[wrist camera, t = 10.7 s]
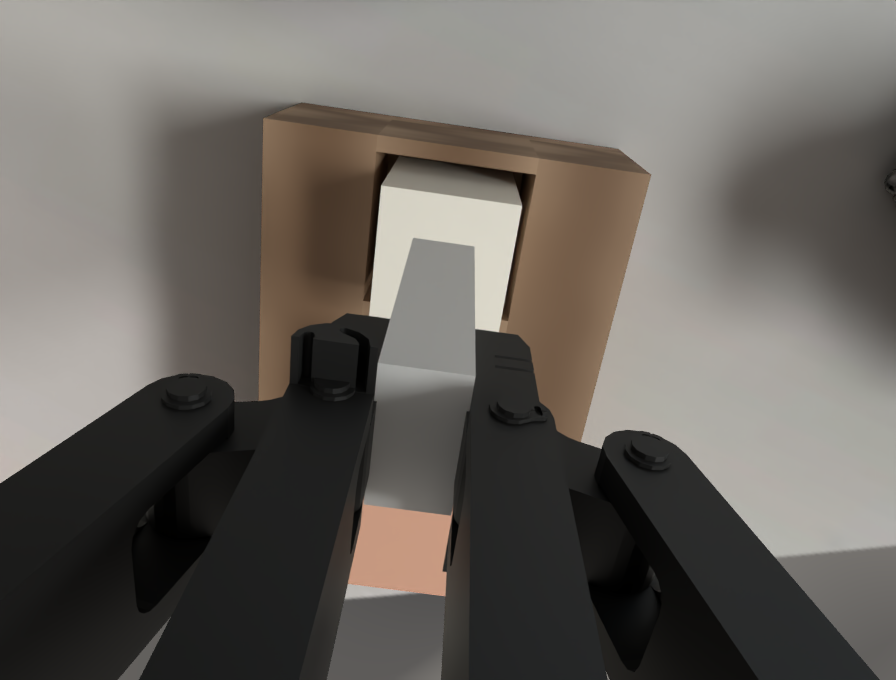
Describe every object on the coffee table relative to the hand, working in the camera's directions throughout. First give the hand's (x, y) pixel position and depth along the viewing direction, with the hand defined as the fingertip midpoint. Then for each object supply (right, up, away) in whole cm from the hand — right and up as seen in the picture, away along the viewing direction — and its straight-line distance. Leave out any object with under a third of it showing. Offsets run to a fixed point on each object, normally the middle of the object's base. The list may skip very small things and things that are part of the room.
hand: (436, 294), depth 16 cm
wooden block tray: (0, -1, +12) cm, 12 cm away
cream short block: (0, +3, +8) cm, 8 cm away
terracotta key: (-1, -7, +12) cm, 14 cm away
